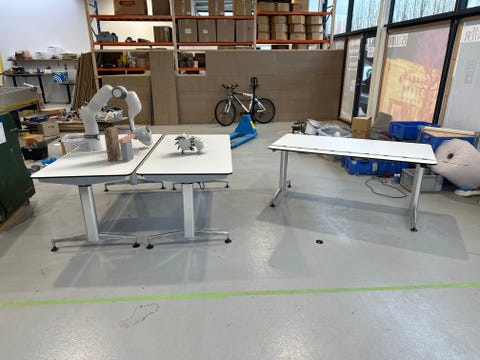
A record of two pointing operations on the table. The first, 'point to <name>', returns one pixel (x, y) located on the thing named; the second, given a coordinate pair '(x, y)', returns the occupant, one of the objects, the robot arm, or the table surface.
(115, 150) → the pillar
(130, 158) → the blue-grey block
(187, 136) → the figurine
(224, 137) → the table surface
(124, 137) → the bar
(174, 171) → the table surface
